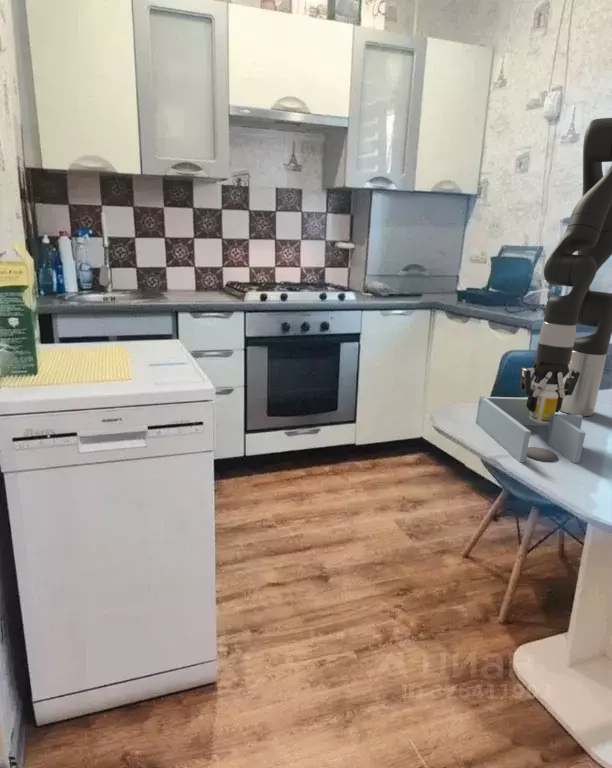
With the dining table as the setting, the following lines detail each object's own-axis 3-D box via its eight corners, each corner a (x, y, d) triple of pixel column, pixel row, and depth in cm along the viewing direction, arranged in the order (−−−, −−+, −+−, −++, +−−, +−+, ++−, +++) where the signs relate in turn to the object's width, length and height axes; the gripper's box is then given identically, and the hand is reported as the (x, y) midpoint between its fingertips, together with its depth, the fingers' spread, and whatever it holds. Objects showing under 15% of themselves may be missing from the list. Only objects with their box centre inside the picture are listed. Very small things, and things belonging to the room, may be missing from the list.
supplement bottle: (526, 420, 131) (533, 382, 128) (532, 415, 135) (539, 378, 132) (550, 426, 128) (558, 387, 125) (555, 420, 132) (562, 382, 129)
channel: (475, 422, 137) (479, 396, 135) (547, 424, 139) (552, 398, 137) (519, 462, 115) (525, 431, 113) (604, 463, 117) (611, 433, 115)
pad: (517, 448, 122) (517, 446, 122) (546, 448, 123) (547, 447, 123) (532, 461, 116) (533, 459, 115) (563, 461, 116) (564, 460, 116)
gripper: (575, 340, 130) (562, 406, 135) (519, 337, 128) (507, 405, 133) (594, 346, 123) (579, 416, 128) (535, 344, 121) (522, 415, 126)
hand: (542, 410), depth 130 cm, fingers closed on supplement bottle, 5 cm apart
